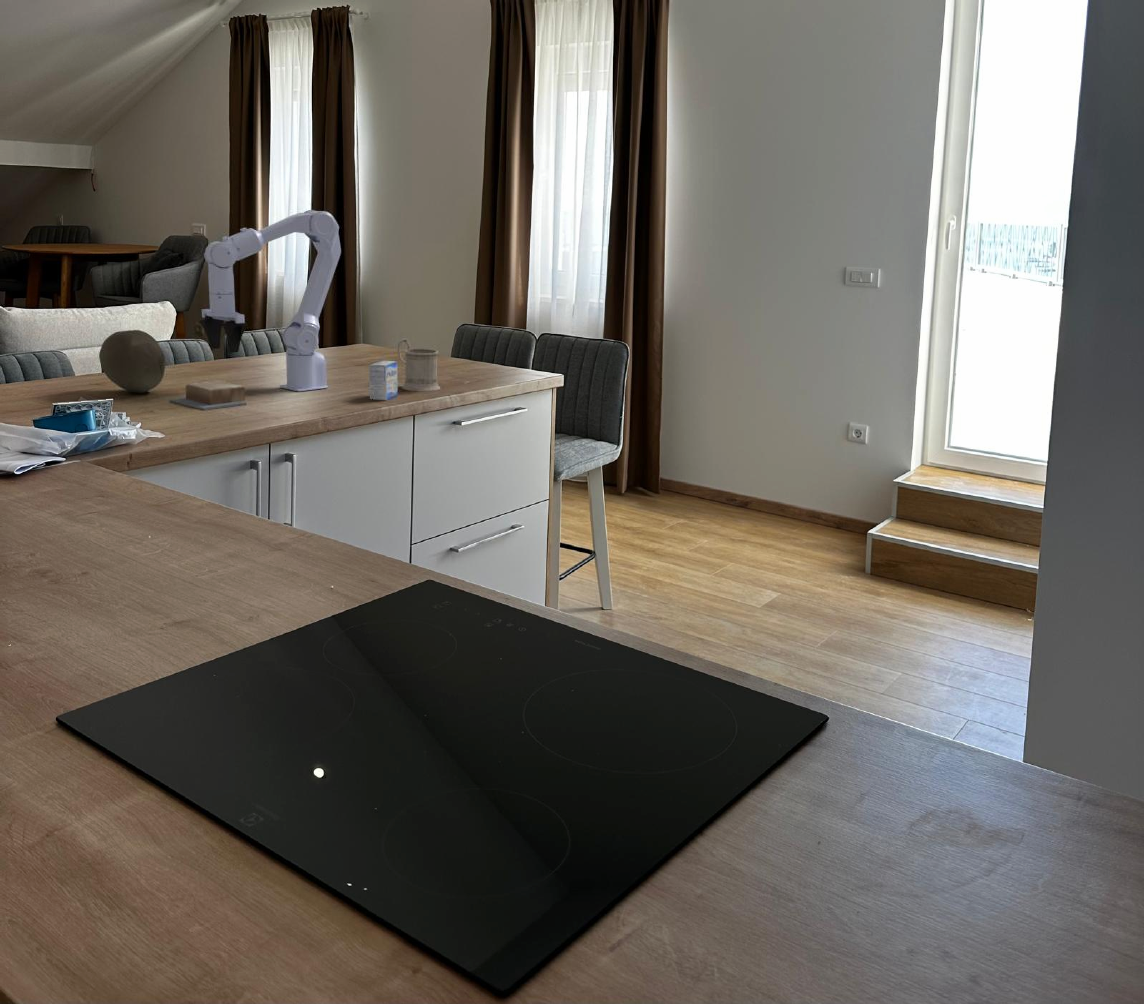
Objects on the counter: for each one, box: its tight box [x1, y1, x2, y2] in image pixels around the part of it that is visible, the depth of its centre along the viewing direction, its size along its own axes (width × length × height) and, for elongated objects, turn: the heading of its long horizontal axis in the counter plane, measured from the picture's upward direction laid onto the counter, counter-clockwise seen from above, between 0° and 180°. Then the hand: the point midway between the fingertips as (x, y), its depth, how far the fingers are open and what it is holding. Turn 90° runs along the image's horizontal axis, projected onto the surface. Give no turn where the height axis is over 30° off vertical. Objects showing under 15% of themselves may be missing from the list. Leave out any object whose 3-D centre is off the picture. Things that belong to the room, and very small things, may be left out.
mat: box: [169, 396, 247, 411], centre depth 257 cm, size 11×14×1 cm
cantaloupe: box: [98, 329, 166, 394], centre depth 263 cm, size 14×14×15 cm
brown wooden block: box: [185, 379, 246, 405], centre depth 258 cm, size 4×10×9 cm
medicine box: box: [368, 360, 398, 402], centre depth 272 cm, size 8×4×9 cm, turn 168°
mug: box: [397, 338, 441, 392], centre depth 289 cm, size 14×10×12 cm
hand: (224, 350), depth 268 cm, fingers open, 7 cm apart
